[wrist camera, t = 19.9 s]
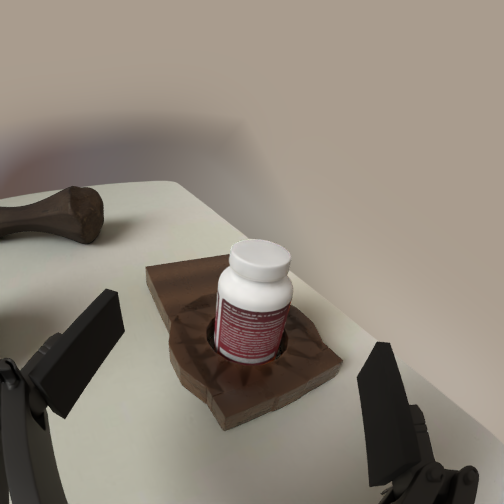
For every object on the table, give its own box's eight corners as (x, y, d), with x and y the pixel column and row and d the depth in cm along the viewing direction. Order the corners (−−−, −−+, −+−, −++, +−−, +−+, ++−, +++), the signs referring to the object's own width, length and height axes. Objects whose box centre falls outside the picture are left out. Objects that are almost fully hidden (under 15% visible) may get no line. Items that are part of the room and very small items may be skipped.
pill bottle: (288, 363, 25) (318, 264, 20) (231, 384, 22) (247, 279, 17) (255, 325, 30) (271, 232, 25) (203, 339, 26) (208, 239, 22)
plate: (342, 373, 24) (351, 356, 23) (211, 437, 17) (211, 424, 16) (234, 268, 40) (236, 252, 39) (138, 284, 33) (136, 267, 32)
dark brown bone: (108, 243, 46) (1, 258, 39) (106, 188, 46) (0, 210, 39) (90, 239, 35) (-29, 258, 28) (88, 171, 35) (-28, 202, 28)
